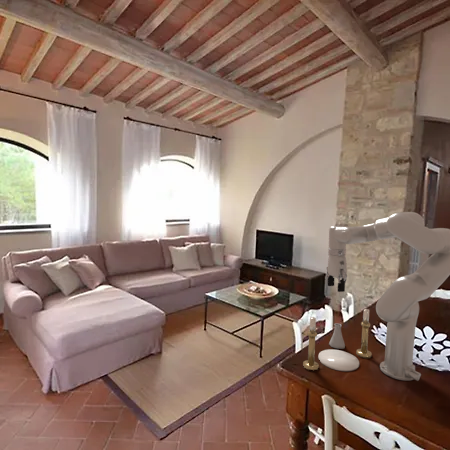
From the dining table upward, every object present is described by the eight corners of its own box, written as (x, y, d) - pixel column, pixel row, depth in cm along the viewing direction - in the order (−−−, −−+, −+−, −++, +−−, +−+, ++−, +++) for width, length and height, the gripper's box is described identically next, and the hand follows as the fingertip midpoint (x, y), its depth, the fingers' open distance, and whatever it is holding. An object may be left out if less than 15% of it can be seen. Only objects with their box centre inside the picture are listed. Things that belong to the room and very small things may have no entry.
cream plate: (368, 366, 127) (368, 364, 127) (336, 374, 121) (336, 372, 121) (339, 348, 142) (339, 347, 142) (310, 354, 136) (310, 353, 136)
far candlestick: (374, 356, 135) (377, 311, 133) (363, 359, 133) (366, 313, 131) (363, 350, 141) (366, 306, 139) (353, 352, 139) (355, 308, 137)
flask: (346, 350, 141) (347, 328, 140) (329, 348, 142) (330, 326, 141) (343, 342, 148) (345, 322, 147) (327, 341, 149) (328, 320, 149)
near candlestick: (321, 369, 125) (324, 319, 123) (309, 372, 122) (311, 322, 121) (312, 361, 130) (314, 314, 128) (300, 364, 128) (302, 316, 126)
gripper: (354, 255, 138) (353, 293, 140) (335, 249, 156) (334, 283, 157) (338, 255, 137) (337, 294, 139) (321, 249, 154) (320, 284, 156)
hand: (335, 288), depth 148 cm, fingers open, 9 cm apart
